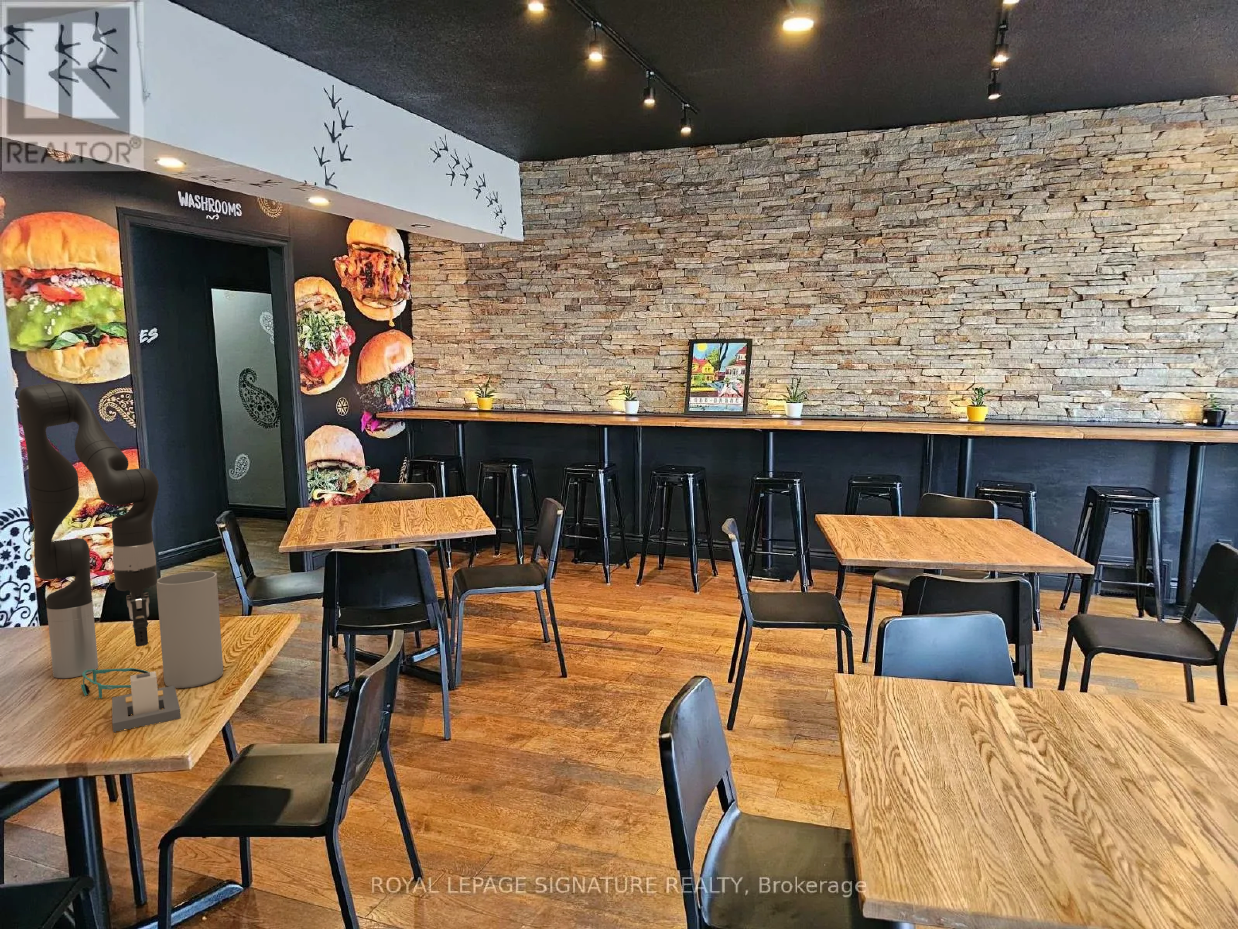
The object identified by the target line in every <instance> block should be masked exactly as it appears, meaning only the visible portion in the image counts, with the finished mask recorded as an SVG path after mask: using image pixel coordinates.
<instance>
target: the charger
mask: <svg viewBox="0 0 1238 929" xmlns="http://www.w3.org/2000/svg"><path fill="white" fill-rule="evenodd" d="M129 678H130V685H131V688H130V689H131V690H130V691H131V694H132V704H133V715H132V716H134V715H139V714H143V713H148V712H153V711H158V710H160V709H159V701H158V685H157V684H158V679H157V678H158V676H157V671H148V673H139V674H133V675H130V677H129Z"/></svg>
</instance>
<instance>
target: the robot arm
mask: <svg viewBox="0 0 1238 929" xmlns="http://www.w3.org/2000/svg"><path fill="white" fill-rule="evenodd" d="M18 409H19V415H20V421H21V426H22V431H23V435H24V442H25V447H26V454H27V455H26V456H27V468H28V484H29V485H28V486H29V496H30V505H31V510H32V517H33V518H32V519H33V527H34V528H33V532H34V533H33V535H34V536H33V539H34V540H33V541H34V542H33V546H34V547H33V548H34V550H33V552H34V555H33V557H34V567H35V573H36V574H37V576H38V578H39V579H41V580H45V581H46V580H47V581H48V580H57V579H65V578H73V577H74V579H73V580H72V581H71V582H70V583H68V584H67V585H66V586H64V587H62V588H60V589H58V590H55V591H53V592H51V593H49V594H48V595H47V596H46V598H45V605H46V616H47V621H48V622H47V624H48V634H49V643H50V647H49V648H50V656H51V667H52V676H53V677H54V678H56V679H70V678H77V677H81V676H82V677H83V675H82V673H83V672H84V671H85V670H91V669H95V670H96V669H97V668H98V669H99V659H98V648H97V638H96V637H97V635H96V627H95V626H96V625H95V623H96V622H95V614H94V603H93V594H92V584H91V556H90V547H89V543H88V542H87V541H86V539H85V538H81V537H80V538H79V537H78V538H71V539H70V538H69V539H68V538H67V539H60V540H53V537H54V535H55V534H56V531H57V529H58V527H59V526H60V525H61V524H62V523H63V521H64V520H65V519H66V517H68V515H69V514H70V513H71V512H72V510H73V509H74V508H75V506H76V504H77V503H78V501H79V498H80V488H79V486H80V485H79V483H80V482H79V474H78V470H77V469H76V468H75V466H74V465H73V463H71V462H70V461H69V459H67V458H66V457H65V456H64V455H62V453H60V452H59V451H58V450H57V449H56V447H54V446H53V445H52V444H51V442H50V440H49V439H48V436H47V429H48V428H49V427H53V426H55V427H56V426H60V425H65V424H67V425H68V424H70V423H76V424H77V425H78V430H77V434H76V436H75V440H74V451H75V454H76V456H77V458H78V460H80V462H81V463H82V464H83V465H84V467H85V468H87V470H88V471H89V473H91V475H92V478H93V480H94V483H95V485H96V489H97V493H98V496H99V498H100V499H101V500H102V502H104V503H106V504H108V505H110V506H123V505H130V504H132V506H131V508H130V510H129V511H128V512H126V513H124V514H121V515H119V516H117V517H115V518H113V520H112V521H111V532H112V533H111V534H112V536H111V537H112V546H113V547H112V548H113V550H112V551H113V552H112V564H113V576H114V587H115V589H117V591H121V592H126V591H127V592H128V591H129V595H125V596H126V605H127V606H126V607H127V608H128V613H129V619H130V620H131V621H132V628H133V634H134V638H135V639H134V640H135V642H134V643H135V646H136V647H137V648H138V647H143V646H147V645H148V644H149V639H148V638H149V637H148V635H149V634H148V626H149V622H148V618H149V616H150V609H149V604H150V596H149V592H145V589H147V588H152V587H155V586H157V585H156V584H157V580H158V572H157V557H156V550H155V546H154V541H153V540H154V538H153V537H154V536H153V527H152V522H153V518H154V514H155V513H154V511H155V506H156V503H157V498H158V494H159V489H160V488H159V485H160V484H159V480H158V477H157V476H156V475H155V473H154V472H153V471H152V470H151V469H149V468H143V467H142V468H141V467H140V468H133V469H132V468H131V469H129V460H128V457H127V455H125V453H124V452H123V451H122V450H121V449H120V447H118V446H117V444H115V442H114V441H113V440H112V439H111V438H110V436H108V434H107V433H106V431H105V429H104V428H103V427H102V425H101V423H100V421H99V419H98V417H97V416H96V414H95V413H94V411H93V409H92V407H91V406H90V404H89V403H88V401H87V400H86V397H85V396H84V395H83V393H82V392H81V390H80V389H79V388H78V387H77V386H76V385H75V384H74V383H72V382H68V381H57V382H51V383H43V384H35V385H30V386H26V387H23V388H22V389H21V390H20V391H19V394H18ZM98 669H97V670H98ZM91 673H93V671H89V672H87V673H85V675H88V674H91Z"/></svg>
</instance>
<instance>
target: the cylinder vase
mask: <svg viewBox="0 0 1238 929" xmlns="http://www.w3.org/2000/svg"><path fill="white" fill-rule="evenodd" d="M217 577H218V576H217V572H214V571H208V570H206V571H205V570H200V571H199V570H196V571H185V572H179V573H178V572H177V573H175V574H174V573H173V574H168V575H166V576H162V577H159V578H157V584H156V585H155V586H156V596H157V608H158V619H159V621H158V622H159V633H160V648H161V660H162V669H163V670H162V672H163V681H164V684H165V685H166V687H168V686H173V685H175V689H189V688H197V687H201V686H204V685H208V684H210V683H212V682H215V681H217V680H218V679H220V678H221V677H222V675H223V674H224V661H223V646H222V632H221V620H220V618H221V617H220V616H221V615H220V607H219V606H220V603H219V602H220V601H219V590H218V578H217Z"/></svg>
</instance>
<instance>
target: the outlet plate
mask: <svg viewBox="0 0 1238 929" xmlns="http://www.w3.org/2000/svg"><path fill="white" fill-rule="evenodd" d="M157 689H158V701H159V710H158V711H153V712H148V713H143V714H139V715H134V716H133V715H131V714H133V704H132V693H129V694H124V695H119V696H113V697H112V698H111V707H112V708H111V712H112V713H111V716H112V718H111V719H112V720H111V721H112V733H113V732H115V733H117V732H116V731H120V730H124V729H129V730H132V729H131V728H134V727H138V728H140V727H139V726H143V727H146V726H145V725H147V726H151V725H150V724H152V725H155V723H156V724H160V723H159V722H161V723H164V722H165V721H166V722H169V720H170V721H174V719H175V720H179V719H181V718H182V717H181V708H180V703H179V699H178V694H177V690H176V689H177V688H175V685H173V686H164V687H159V688H158V687H157ZM161 708H163V709H161ZM128 715H130V716H128ZM166 722H165V723H166ZM134 729H135V728H134ZM124 731H125V730H124ZM120 732H121V731H120Z"/></svg>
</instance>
